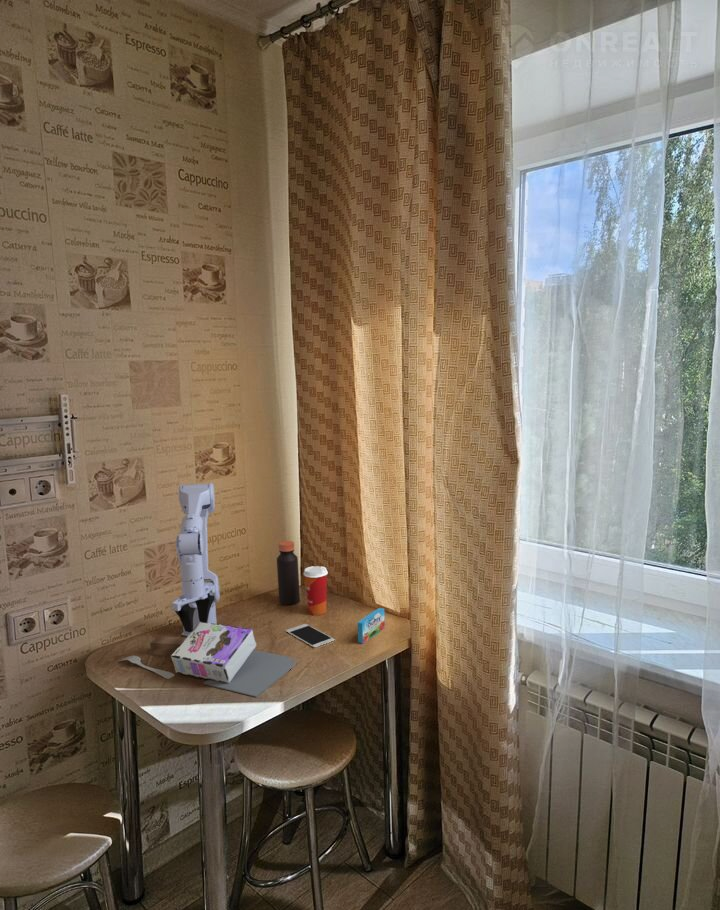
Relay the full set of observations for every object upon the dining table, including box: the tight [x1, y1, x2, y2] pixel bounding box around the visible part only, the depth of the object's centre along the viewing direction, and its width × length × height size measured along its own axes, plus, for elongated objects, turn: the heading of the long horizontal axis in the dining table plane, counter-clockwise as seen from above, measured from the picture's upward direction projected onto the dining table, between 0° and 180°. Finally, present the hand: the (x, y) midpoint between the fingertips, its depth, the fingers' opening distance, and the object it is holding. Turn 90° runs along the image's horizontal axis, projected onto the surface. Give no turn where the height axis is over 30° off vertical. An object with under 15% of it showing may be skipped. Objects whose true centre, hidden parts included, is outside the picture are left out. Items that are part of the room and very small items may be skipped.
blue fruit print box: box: [357, 607, 386, 645], centre depth 181 cm, size 12×2×6 cm, turn 147°
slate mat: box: [202, 649, 301, 698], centre depth 163 cm, size 16×20×1 cm
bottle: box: [276, 540, 301, 606], centre depth 208 cm, size 7×7×20 cm
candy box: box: [170, 622, 257, 683], centre depth 164 cm, size 14×6×16 cm
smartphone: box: [285, 623, 336, 647], centre depth 183 cm, size 7×15×1 cm, turn 38°
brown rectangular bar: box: [149, 636, 187, 657], centre depth 175 cm, size 16×4×4 cm, turn 79°
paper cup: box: [302, 565, 329, 616], centre depth 199 cm, size 8×8×14 cm
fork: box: [119, 655, 175, 680], centre depth 167 cm, size 3×21×3 cm, turn 57°
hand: (196, 626), depth 170 cm, fingers open, 5 cm apart
